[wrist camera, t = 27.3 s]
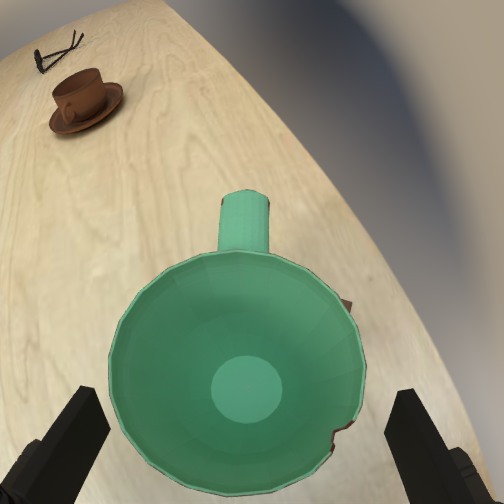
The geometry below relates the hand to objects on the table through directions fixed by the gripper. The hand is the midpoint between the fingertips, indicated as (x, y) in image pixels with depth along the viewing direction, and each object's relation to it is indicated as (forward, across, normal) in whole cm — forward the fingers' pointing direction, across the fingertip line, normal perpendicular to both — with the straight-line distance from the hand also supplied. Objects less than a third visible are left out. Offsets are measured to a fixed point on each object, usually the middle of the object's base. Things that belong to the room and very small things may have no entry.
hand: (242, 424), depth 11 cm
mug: (+9, 0, -2) cm, 9 cm away
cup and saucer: (+32, -24, +20) cm, 44 cm away
